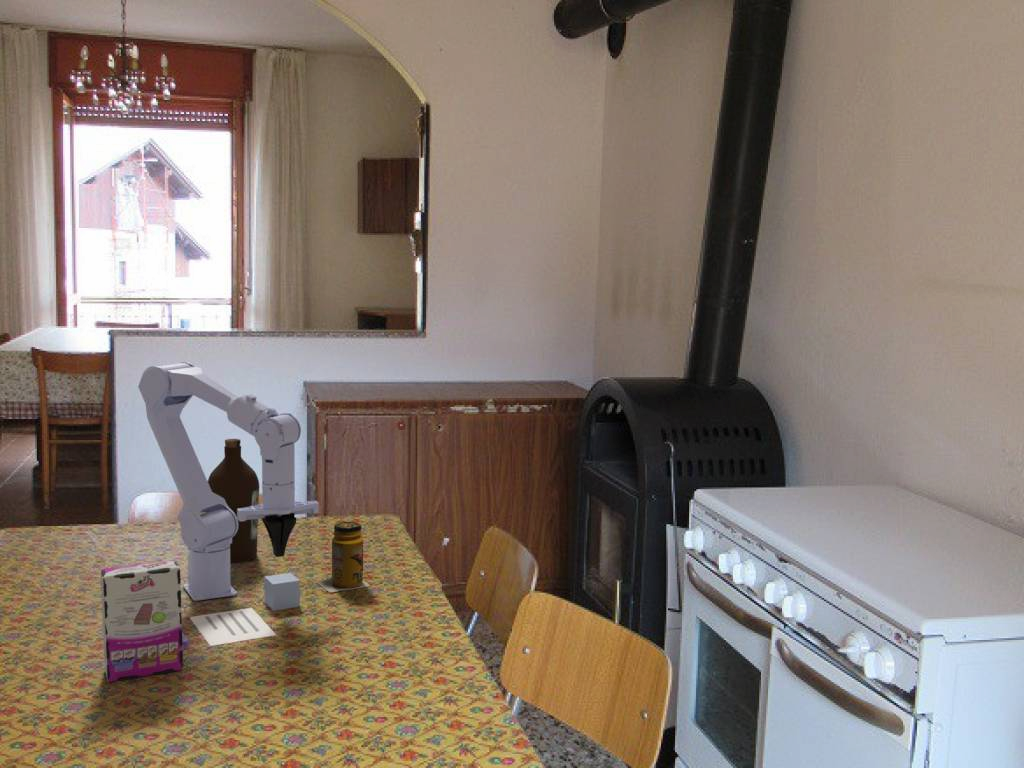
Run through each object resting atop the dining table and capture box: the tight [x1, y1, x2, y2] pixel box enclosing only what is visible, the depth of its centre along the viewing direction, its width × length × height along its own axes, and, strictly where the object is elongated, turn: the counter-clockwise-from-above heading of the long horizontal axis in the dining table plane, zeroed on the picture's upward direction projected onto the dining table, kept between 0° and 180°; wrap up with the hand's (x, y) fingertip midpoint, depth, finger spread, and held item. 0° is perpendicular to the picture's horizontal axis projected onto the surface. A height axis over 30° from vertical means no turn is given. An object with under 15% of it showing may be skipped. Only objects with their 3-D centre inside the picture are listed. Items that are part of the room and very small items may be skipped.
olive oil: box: [207, 438, 260, 564], centre depth 217 cm, size 11×11×25 cm
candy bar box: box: [100, 559, 184, 683], centre depth 158 cm, size 11×5×16 cm, turn 117°
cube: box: [263, 572, 301, 612], centre depth 190 cm, size 5×5×5 cm
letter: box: [189, 607, 277, 647], centre depth 179 cm, size 15×11×1 cm
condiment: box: [315, 521, 371, 594], centre depth 201 cm, size 7×8×12 cm
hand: (279, 555), depth 188 cm, fingers closed
